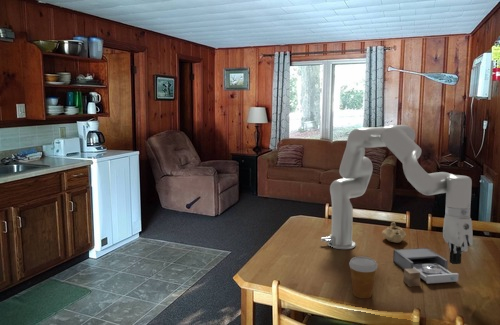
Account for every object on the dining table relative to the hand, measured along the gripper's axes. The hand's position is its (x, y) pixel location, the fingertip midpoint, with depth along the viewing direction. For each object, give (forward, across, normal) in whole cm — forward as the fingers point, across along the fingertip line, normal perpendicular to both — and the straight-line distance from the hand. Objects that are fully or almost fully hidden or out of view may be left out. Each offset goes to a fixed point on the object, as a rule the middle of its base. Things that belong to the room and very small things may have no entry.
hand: (455, 263), depth 138 cm
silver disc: (+9, +14, 0) cm, 16 cm away
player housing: (+10, +22, 0) cm, 24 cm away
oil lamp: (+10, +52, -5) cm, 53 cm away
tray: (+10, +12, 0) cm, 16 cm away
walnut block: (+10, +8, +11) cm, 17 cm away
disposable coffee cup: (+10, +3, +32) cm, 34 cm away
